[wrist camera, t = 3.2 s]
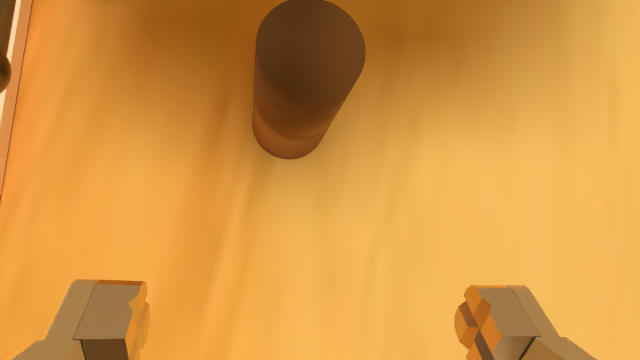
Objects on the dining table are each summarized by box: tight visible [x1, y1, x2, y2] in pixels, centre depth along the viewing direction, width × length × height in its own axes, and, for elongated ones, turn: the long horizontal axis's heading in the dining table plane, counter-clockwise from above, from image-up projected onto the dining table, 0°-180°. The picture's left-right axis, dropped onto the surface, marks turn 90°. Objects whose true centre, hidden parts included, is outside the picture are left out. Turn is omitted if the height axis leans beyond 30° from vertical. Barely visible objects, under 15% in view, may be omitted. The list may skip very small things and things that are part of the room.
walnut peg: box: [253, 0, 365, 159], centre depth 20 cm, size 4×4×9 cm
